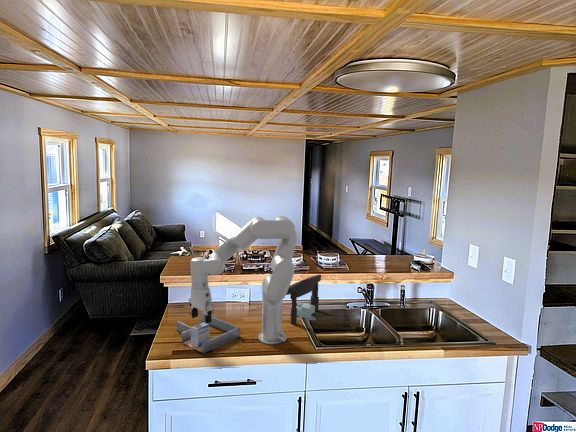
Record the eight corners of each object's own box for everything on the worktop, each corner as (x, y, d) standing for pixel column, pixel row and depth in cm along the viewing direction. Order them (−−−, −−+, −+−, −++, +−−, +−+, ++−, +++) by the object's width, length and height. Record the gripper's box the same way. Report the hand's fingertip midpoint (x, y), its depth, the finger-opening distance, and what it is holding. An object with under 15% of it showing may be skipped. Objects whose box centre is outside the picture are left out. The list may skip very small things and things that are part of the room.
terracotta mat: (216, 344, 188) (216, 343, 188) (200, 352, 180) (200, 351, 180) (199, 336, 195) (199, 335, 195) (183, 343, 188) (183, 342, 188)
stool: (274, 283, 211) (309, 270, 237) (273, 321, 214) (308, 304, 240) (298, 290, 202) (332, 275, 228) (297, 330, 205) (330, 311, 231)
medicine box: (197, 347, 183) (197, 329, 182) (190, 345, 186) (190, 327, 184) (209, 341, 190) (209, 323, 189) (202, 338, 192) (202, 321, 191)
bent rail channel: (239, 336, 196) (239, 327, 196) (203, 353, 179) (203, 343, 179) (202, 320, 214) (202, 312, 213) (166, 333, 197) (166, 325, 196)
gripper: (218, 286, 181) (220, 322, 184) (194, 278, 192) (196, 312, 194) (205, 290, 175) (207, 327, 178) (181, 282, 186) (183, 317, 189)
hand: (201, 319), depth 186 cm, fingers open, 9 cm apart
